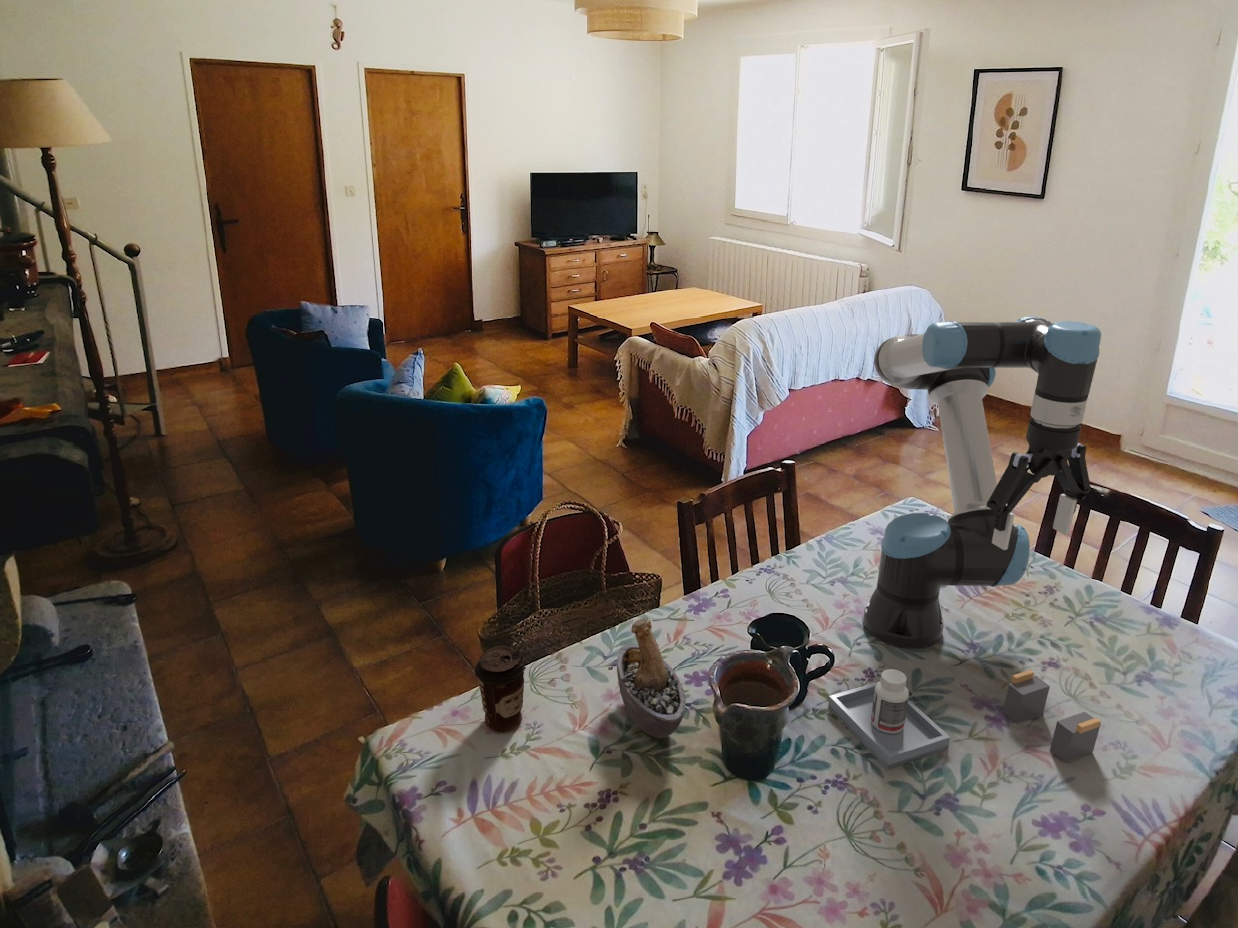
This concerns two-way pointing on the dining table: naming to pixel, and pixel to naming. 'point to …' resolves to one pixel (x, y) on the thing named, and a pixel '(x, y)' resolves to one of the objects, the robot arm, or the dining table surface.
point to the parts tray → (887, 748)
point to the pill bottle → (890, 702)
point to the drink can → (501, 687)
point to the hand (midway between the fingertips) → (1030, 538)
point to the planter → (649, 684)
